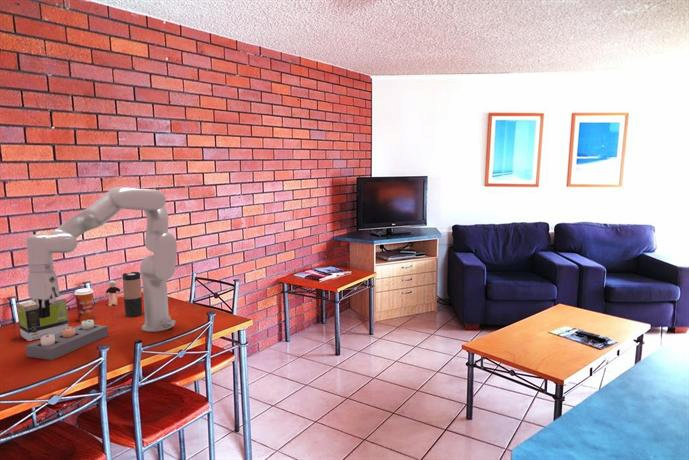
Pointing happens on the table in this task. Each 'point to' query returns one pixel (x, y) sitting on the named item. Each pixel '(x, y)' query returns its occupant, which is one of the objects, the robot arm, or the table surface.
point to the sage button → (87, 325)
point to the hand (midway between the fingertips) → (44, 317)
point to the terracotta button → (68, 332)
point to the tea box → (41, 319)
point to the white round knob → (47, 340)
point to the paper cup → (84, 303)
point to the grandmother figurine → (112, 293)
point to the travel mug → (132, 294)
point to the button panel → (66, 343)
